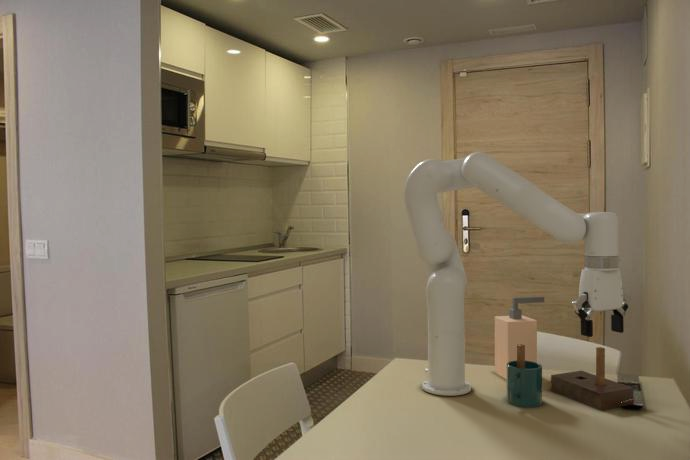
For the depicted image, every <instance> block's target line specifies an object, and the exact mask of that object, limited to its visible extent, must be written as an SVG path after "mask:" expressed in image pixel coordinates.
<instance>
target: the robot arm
mask: <svg viewBox="0 0 690 460" xmlns="http://www.w3.org/2000/svg"><path fill="white" fill-rule="evenodd" d="M473 188H474V189H475V188H476V189H478V190H479V191H481V192H483V193H484V194H485V195H487V196H488V197H490V198H491V199H493V200H494V201H496V202H497V203H498V204H500V205H502V206H504V207H505V208H506V209H508V210H509V211H511V212H512V213H514V214H516V215H518V216H520V217H522V218H524V219H526V220H527V221H529V222H531V223H532V224H533V225H535V226H536V227H538V228H540V229H541V230H542V231H544V232H545V233H547V234H548V235H550V236H551V237H552V238H554V239H556V240H557V241H558V242H560V243H562V244H566V245H571V244H575V243H578V242H580V241H583V246H584V249H583V250H584V254H583V255H584V256H583V257H584V268H582V269H581V273H580V278H579V286H578V297H576V299H574V300H573V301H572V302H571V305H572V307H573V310H574V313H575V314H576V315H577V317H578V319H579V320H580V335H581V336H585V337H589V338H593V336H594V322H593V320H592V318H593V316H594V314H595V313H596V312H606V311H607V312H608V311H611V313H612V314H610V315H611V316H610V330H611V331H612V332H615V333H620V334H622V333H624V329H625V327H624V323H625V322H624V317H625V316H626V314H627V313H626V312H627V311H628V309H629V304H630V302H631V296H630V295H628V294H626V293H624V290H623V289H624V287H623V279H622V274H621V269H620V268H619V267H620V266H619V265H620V264H619V263H620V261H621V260H620V258H619V217H618V215H617V213H615V212H611V211H596V212H595V211H593V212H588V213H582V212H581V213H579V212H576V211H574V210H572V209H571V208H570V207H568V206H566V205H564V204H563V203H561V202H560V201H559V200H557V199H555V198H554V197H553V196H551V195H549V194H548V193H546V192H545V191H544V190H542V189H540V188H539V187H538V186H537V185H535V184H534V183H533V182H532V181H530V180H528V179H527V178H526V177H525V176H522V175H521V174H519V173H517V172H516V171H515V170H513V169H512V168H510V167H508V166H507V165H505V164H504V163H502V162H501V161H499V160H498V159H496V158H494V157H493V156H491V155H490V154H488V153H486V152H483V151H474V152H472V153H470V154H469V155H468V156H466V157H462V158H456V159H450V160H440V159H437V158H428V159H425V160H422V161H421V162H420V163H418V164H417V165H415V167H414V168H413V169H412V170H411V172H410V173H409V174H408V176H407V178H406V181H405V183H404V188H403V199H404V200H403V201H404V206H405V210H406V213H407V217H408V220H409V225H410V228H411V232H412V236H413V239H414V243H415V247H416V251H417V254H418V256H419V257H420V259H421V260H423V262H424V263H426V266H427V270H428V272H429V275H430V276H429V277H428V279H427V283H426V286H425V287H426V288H425V298H426V314H427V367H426V368H425V369H424V373H425V374H427V379H425V380H424V381H422V383H421V388H422V390H423V391H425V392H427V393H428V394H429V393H430V394H432V395H437V396H444V397H445V396H446V397H448V396H449V397H452V396H453V397H455V396H462V395H465V394H468V393H470V392H471V391H472V385H471V383H470V382H468V381H466V325H465V324H466V321H465V319H466V316H465V292H466V290H467V287H468V277H467V273H466V270H465V267H464V264H463V261H462V257H461V254H460V251H459V247H458V243H457V241H456V238H455V236H454V235H453V233H451V231H449V230H448V229H447V228H446V225H445V221H444V218H443V215H442V210H441V208H440V205H439V202H438V194H440V193H447V192H448V193H449V192H453V191H460V190H461V191H462V190H468V189H473Z"/></svg>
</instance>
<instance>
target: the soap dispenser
mask: <svg viewBox="0 0 690 460" xmlns="http://www.w3.org/2000/svg"><path fill="white" fill-rule="evenodd" d="M537 303H545V296H520V297H512V307H511V308H509V309H508V315H495V316H494V374H496V375H498V376H499V377H501V378H503V379H505V380H506V381H507V363H508V362H510V361H516V360H517V345H518V344H523V345H525V361H532V362H536V363H538V320H537V319H533V318H531V317H528V316H525V315H524V314H523V313H522V312H523V310H522V309H521V308H519V304H537ZM522 314H523V315H522Z"/></svg>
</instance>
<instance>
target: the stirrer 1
mask: <svg viewBox="0 0 690 460" xmlns="http://www.w3.org/2000/svg"><path fill="white" fill-rule="evenodd" d="M517 368H522V369H525V345H523V344H518V345H517Z"/></svg>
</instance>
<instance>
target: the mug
mask: <svg viewBox="0 0 690 460" xmlns="http://www.w3.org/2000/svg"><path fill="white" fill-rule="evenodd" d="M506 402H507V403H509V404H511V405H513V406H516V407H521V408H535V407H539V406H541V405H542V404H543V365H542V364H541V363H539V362H537V363H536V362H532V361H525V369H522V368H517V360H516V361H510V362H508V363H507V380H506Z"/></svg>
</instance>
